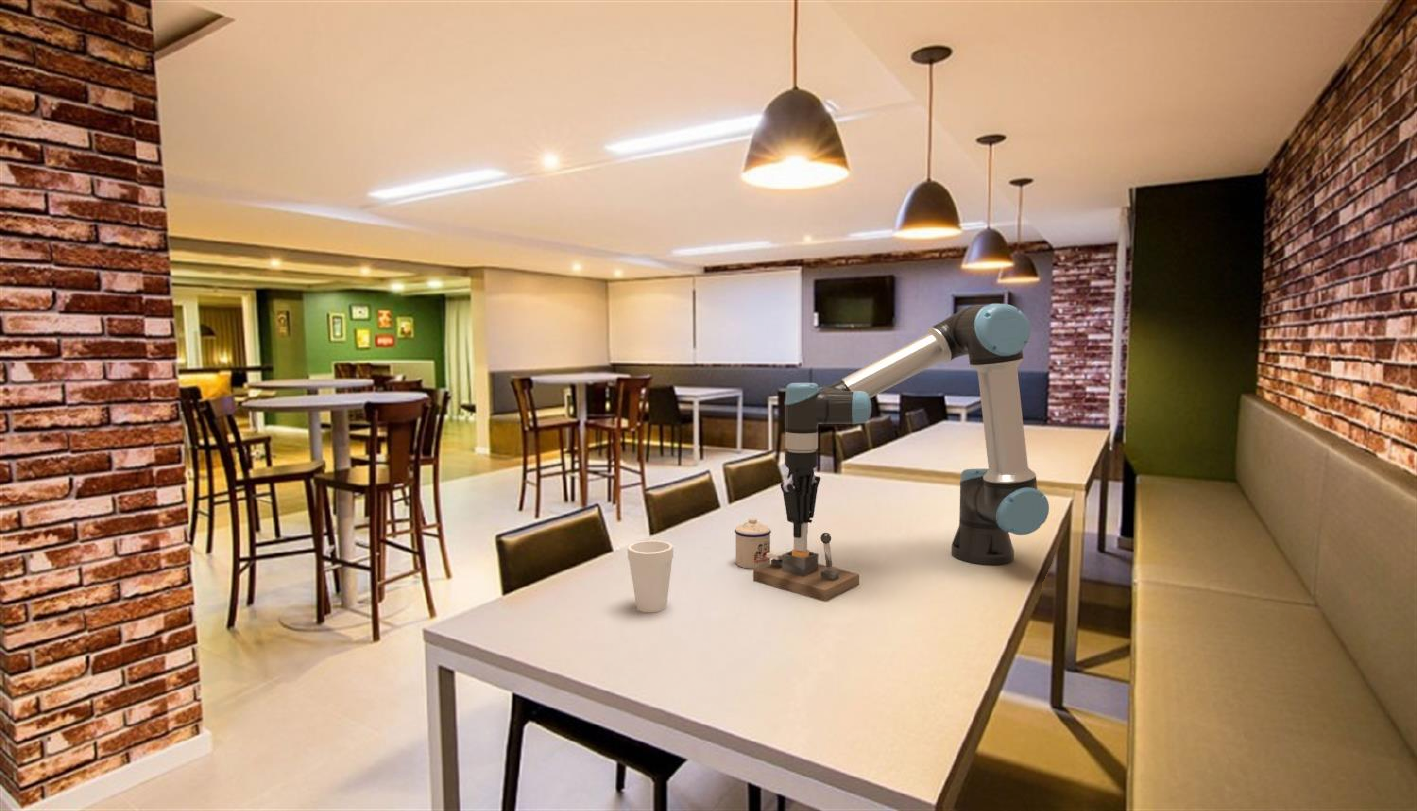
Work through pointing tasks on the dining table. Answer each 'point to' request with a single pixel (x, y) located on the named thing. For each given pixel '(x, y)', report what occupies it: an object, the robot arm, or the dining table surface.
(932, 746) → the dining table surface
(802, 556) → the push button
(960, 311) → the robot arm
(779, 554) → the rocker switch
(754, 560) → the teacup with lid
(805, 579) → the switch panel
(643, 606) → the foam cup
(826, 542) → the toggle lever
